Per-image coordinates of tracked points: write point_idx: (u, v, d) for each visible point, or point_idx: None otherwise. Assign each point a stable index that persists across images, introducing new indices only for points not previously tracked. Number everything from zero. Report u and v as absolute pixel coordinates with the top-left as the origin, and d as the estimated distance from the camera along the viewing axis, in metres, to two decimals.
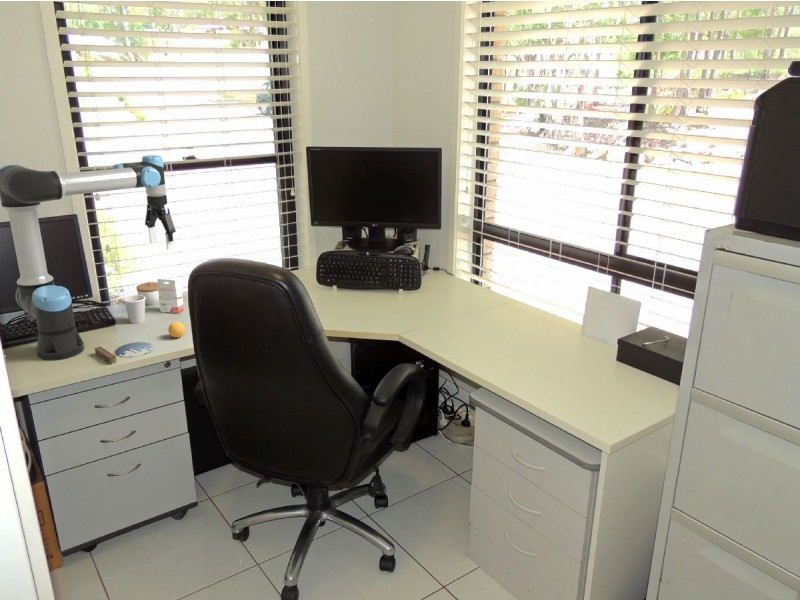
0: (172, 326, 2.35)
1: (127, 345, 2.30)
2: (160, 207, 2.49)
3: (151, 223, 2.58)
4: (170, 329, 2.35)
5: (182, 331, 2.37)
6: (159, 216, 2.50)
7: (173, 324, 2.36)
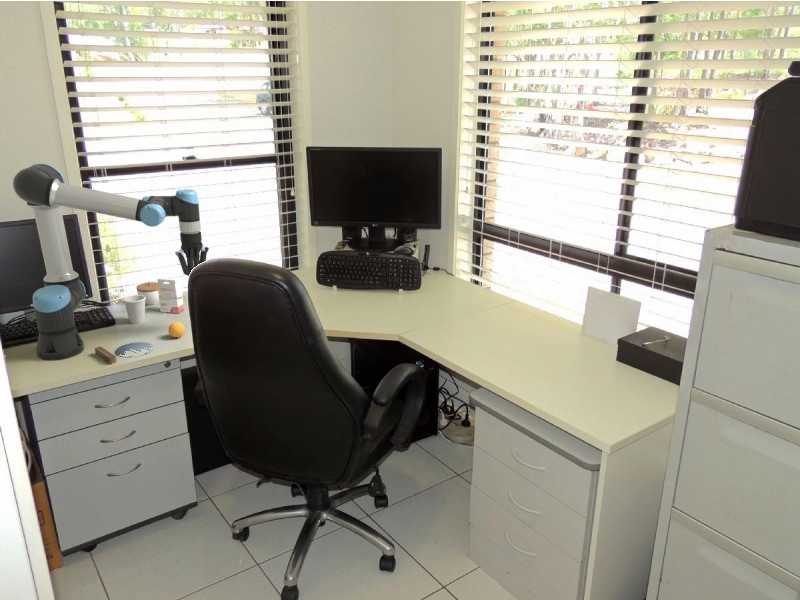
0: (172, 326, 2.35)
1: (127, 345, 2.30)
2: None
3: None
4: (170, 329, 2.35)
5: (182, 331, 2.37)
6: (199, 255, 2.36)
7: (173, 324, 2.36)
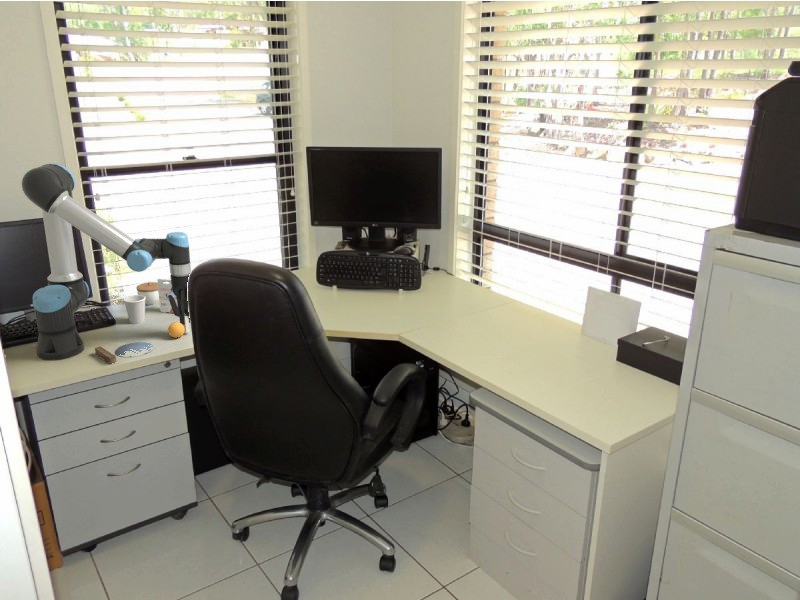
0: (171, 327, 2.35)
1: (127, 345, 2.30)
2: None
3: None
4: (170, 330, 2.35)
5: (182, 331, 2.37)
6: None
7: (172, 325, 2.36)
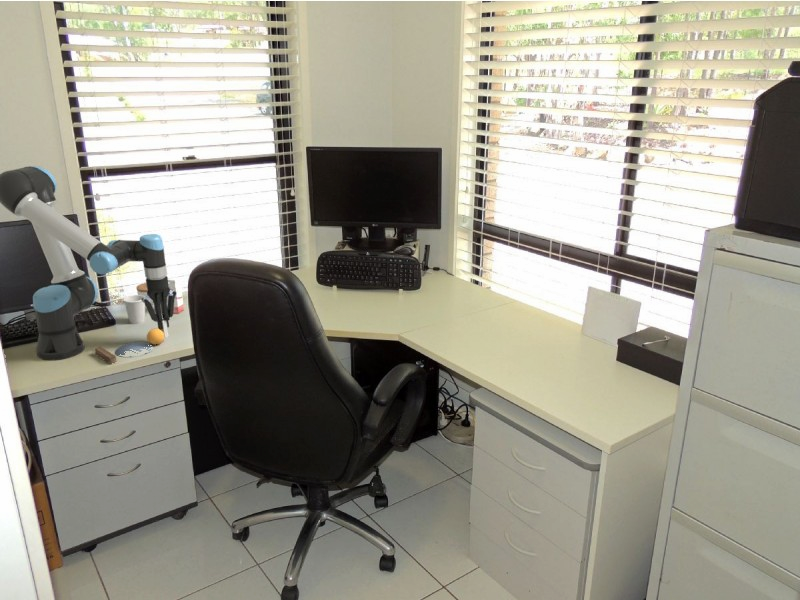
0: (149, 336, 2.29)
1: (127, 345, 2.30)
2: None
3: None
4: (148, 339, 2.29)
5: (161, 338, 2.30)
6: (166, 300, 2.30)
7: (149, 333, 2.29)
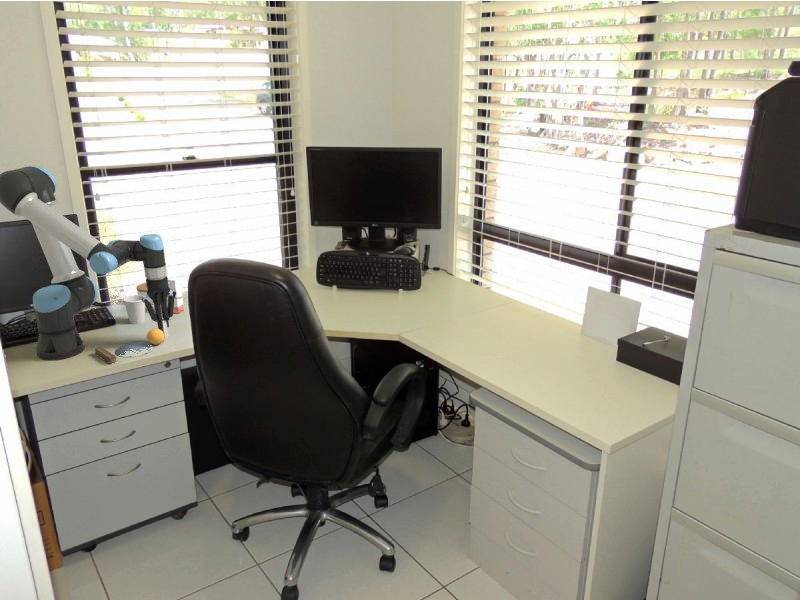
0: (149, 336, 2.29)
1: (127, 345, 2.30)
2: None
3: None
4: (148, 339, 2.29)
5: (160, 338, 2.30)
6: (166, 300, 2.30)
7: (149, 333, 2.29)
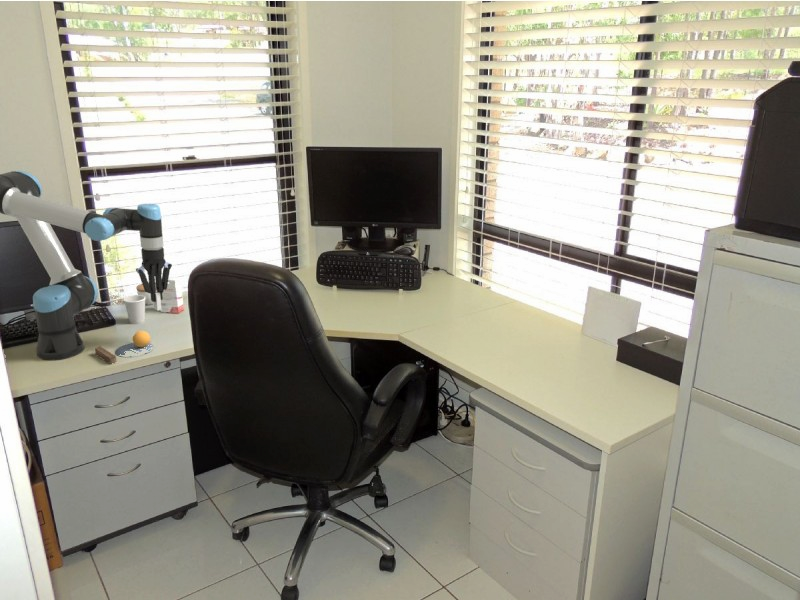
0: None
1: (127, 345, 2.30)
2: None
3: None
4: (143, 346, 2.29)
5: (142, 338, 2.26)
6: (161, 271, 2.26)
7: None
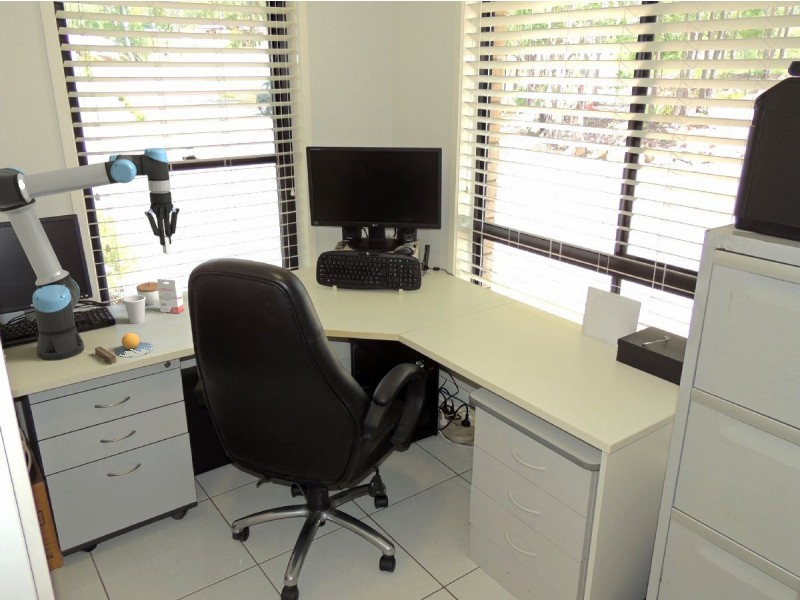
0: (137, 345, 2.27)
1: None
2: None
3: None
4: None
5: (127, 343, 2.24)
6: (169, 215, 2.33)
7: None
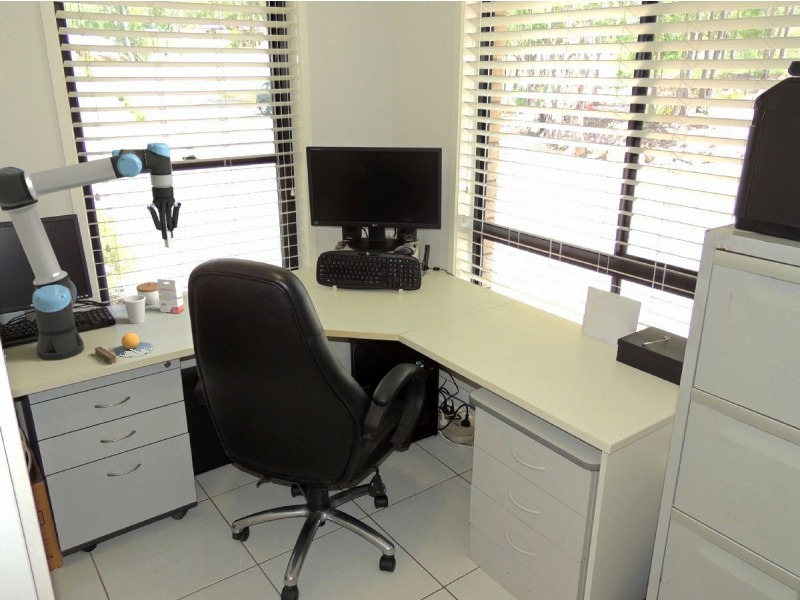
0: (137, 345, 2.27)
1: None
2: None
3: None
4: None
5: (127, 343, 2.24)
6: (171, 210, 2.35)
7: None
